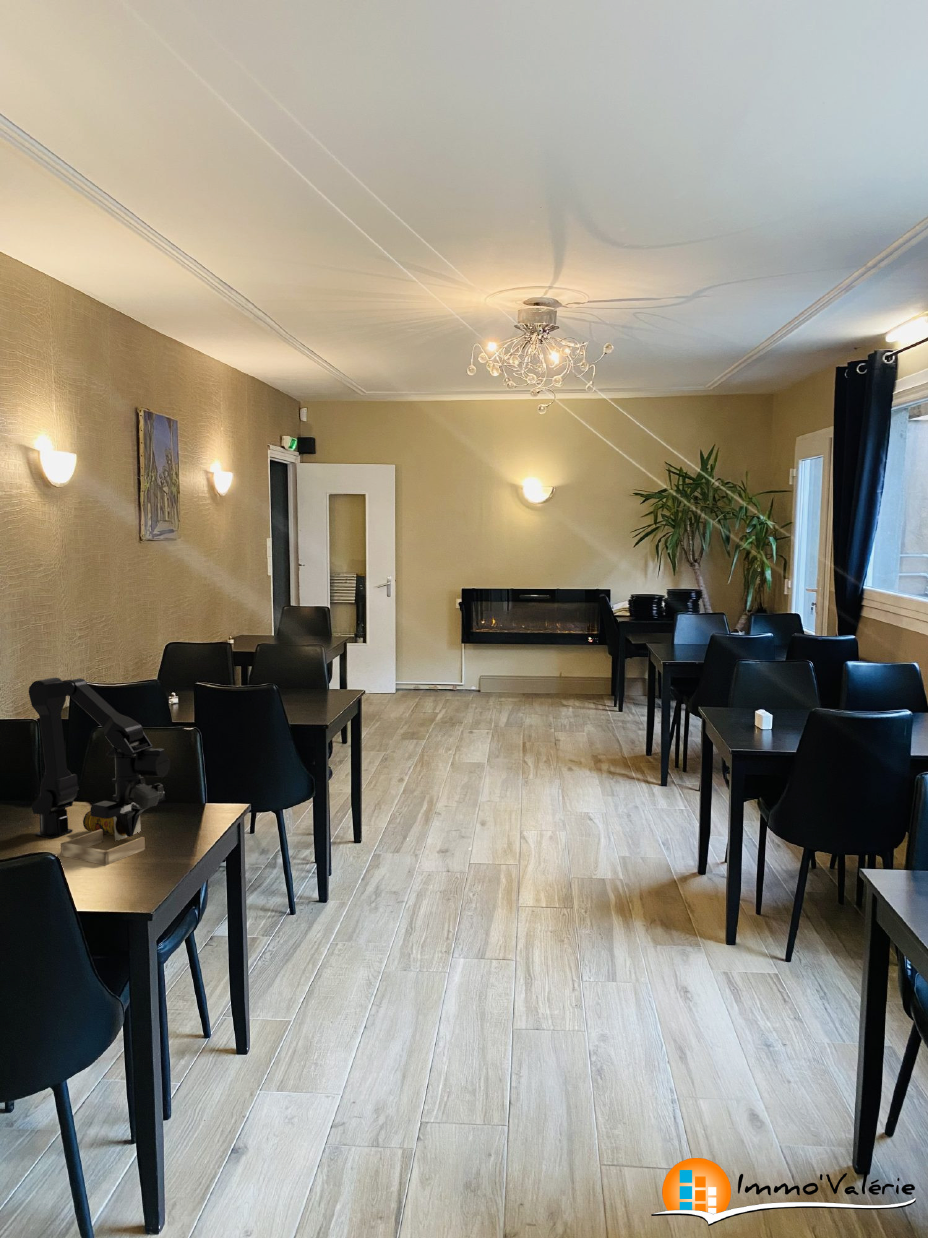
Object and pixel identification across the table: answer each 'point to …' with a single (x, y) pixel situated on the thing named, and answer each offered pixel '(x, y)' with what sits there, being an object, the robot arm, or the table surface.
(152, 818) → the table surface
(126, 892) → the table surface
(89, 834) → the wooden bracket
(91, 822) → the condiment
